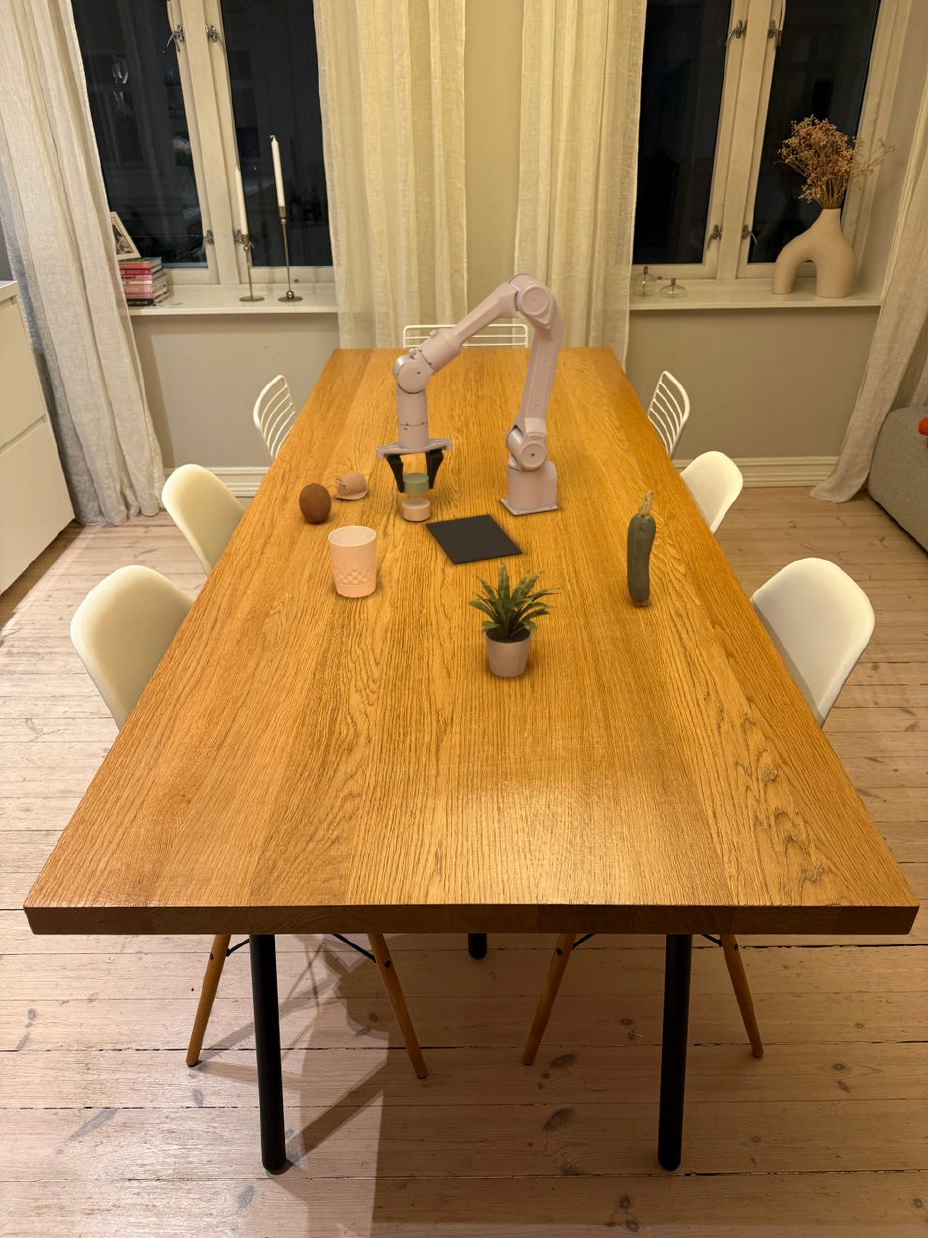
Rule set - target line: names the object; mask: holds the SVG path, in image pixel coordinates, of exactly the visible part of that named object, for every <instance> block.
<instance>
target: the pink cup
mask: <svg viewBox="0 0 928 1238" xmlns="http://www.w3.org/2000/svg"><path fill="white" fill-rule="evenodd" d="M327 539H328V540H327V541H328V546H329V547H328V548H329V555H330V562H331V568H332V573H333V577H334V584H335V590H336V592H337V594H339V595H340V596H342V597H345V598H350V599H355V598H357V599H358V598H363V597H366V596H369V595H371V594H373V593H374V592H375V590H376V588H377V576H376V575H377V532H376V531H375V530H374V529H372V528H370V527H368V526H362V525H348V526H342V527H339V528H335V529H334V530H332V531H330V532H329V533H328V536H327Z"/></svg>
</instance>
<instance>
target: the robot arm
mask: <svg viewBox="0 0 928 1238" xmlns="http://www.w3.org/2000/svg"><path fill="white" fill-rule="evenodd" d="M517 312H519V313H520V314H521V315H522V316H523V317H524V318H525V319H526V320H527V322H528V323H529V324H530V326H531V327H532V329H533V330H534V333H533V337H532V338H533V339H532V344H531V349H530V354H529V359H528V364H527V370H526V375H525V380H524V386H523V390H522V396H521V401H520V408H519V411H518V413H517V414H516V415H515V417H514V418H513V422H512V426H511V428H510V429H509V430H508V432H507V433H506V436H505V446H506V448H507V450H508V451H509V452H510V455H509V458H508V460H507V497H504V498H501V499H500V503H501V504H503V506H504V507H505V508H506V509H507V510H508V511H509V512H510V513H511V514H512V515H513V516H521V515H527V514H535V513H541V512H547V511H554V510H558V509H559V507H558V506H557V498H558V473H557V472H558V471H557V469H556V465H555V464H554V462H553V461H552V460H548V456H549V447H548V446H547V445H548V444H547V439H548V429H547V423H546V418H547V417H546V416H547V415H548V408H549V403H550V398H551V393H552V389H553V384H554V381H555V380H554V378H555V374H556V369H557V364H558V359H559V354H560V350H561V344H562V340H563V335H564V331H565V323H564V321H563V318H562V315H561V312H560V309H559V306H558V304H557V296H555V294H554V293H553V292H552V291H551V289H549V288H548V286H547V285H546V284H544V283H543V282H540V281H539V280H537V279H536V278H535V277H534V276H532V275H531V274H529V273H526V272H519V273H516V274H515V275H513V276H511V277H510V278H509V280H508V281H504V282H503V283H500V285H498V286H497V288H496V289H494V291H493V292H491V294H489V295H488V296H487V297H486V298H485V299H484V300H483V301H481V302H480V303H479V304H478V305H477V306H476V307H475V308H474V309H472V310H471V311H470V312H468V314H466V315H465V316H464V317H463V318H462V319H461V320H460V321H459V322H458V323H456V324H455V325H454V326H453V327H452V328H447V327H446V328H445V327H440V328H439V329H438V330H436V329H432V330H431V331H430V332H429V335H430V337H428V338H427V339H425V340H424V341H423V342H422V343H421V344H419V345H418V346H417V347H415V348H414V347H411V348H410V349H409V350H408V352H409V353H407V354H403V355H401V356H400V357H399V358H397V359H396V361H395V362H394V364H393V368H392V370H391V373H392V376H393V378H394V380H395V381H396V382H397V383H396V389H395V391H396V398H395V400H396V417H397V419H396V421H397V436H398V438H397V439H398V441H395V442H392V443H388V444H384V445H379V446H375V457H376V459H377V460H379V461H381V460H384V459H385V460H386V462H387V463H388V465H389V467H390V469H391V472H392V475H393V477H394V480H395V482H396V486H397V487H396V488H397V491H398V493H400V494H404V483H403V476H404V462H403V460H402V457H401V456H409V455H417V454H423V453H424V456H425V465H426V466H425V467H426V475H428V476H429V487H430V490H433V489H434V487H435V482H436V477H437V475H438V471H439V469H440V467H441V465H442V462H443V461H444V459H445V458H444V457H445V455H444V453H443V451H447V452H450V451H453V441H452V439H451V438H450V437H441V438H437V437H436V438H435V437H434V438H429V437H430V436H429V434H430V433H429V410H428V396H427V387H428V385H429V383H430V379H431V377H433V376H435V375H436V374H437V373H439V372H440V371H442V369H444V368H445V367H446V366H448V365H449V364H450V363H451V362H452V361H454V360H455V359H456V358H458V357H459V356H460V355H461V354H462V348H463V345H464V344H465V343H466V342H467V341H469V340H470V339H472V338H473V337H474V336H476V335H477V334H479V333H480V332H481V331H483V330H484V329H486V328H487V327H489V326H490V325H491V324H493V323H494V322H495V321H497V320H499V319H518V314H517Z"/></svg>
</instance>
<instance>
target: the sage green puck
mask: <svg viewBox="0 0 928 1238" xmlns="http://www.w3.org/2000/svg"><path fill="white" fill-rule="evenodd" d="M403 483H404V493H403V494H405V495H406V496H412V497H413V496H414V497H417V496H423V495H426V494H428V493H429V492H430V490H431V489H430V487H429V476H428V475H427V473H423V472H410V473H409V472H408V473H406V474H403Z"/></svg>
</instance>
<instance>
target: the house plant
mask: <svg viewBox="0 0 928 1238" xmlns="http://www.w3.org/2000/svg"><path fill="white" fill-rule="evenodd" d="M505 564H506V563H505V562H504V560H501V561H500V564H499V567H498V569H499V570H498V584H497V588H496V587H495V586H492V585H490V584H489V583H488V582H487V581H486V580H485V579H483V578H482V577H481V576H479V575H478V574H475V577H476V579H477V580H479V582H480V583H481V585H482V588H483V589H484V590H485V591H483V589H479V588H477V590H478V591H480V592H481V593H482V594H483V595H484V596H485V597H487V598H485V597H483V596H481V595H480V594H479V593H477V592H474V591H472V592H471V593H472V594H474V595H475V596H477V597H478V598H476V599H475V600H470V601H468V602H467V604H468V605H469V606H471V607H473V608H475V609H477V610H479V611H481V612H484V613H485V614H486V615H488V617H489V618H490V619H491V620H492V621H491V620H483V621H482V623H481V631H480V634H481V635H482V634H483V635H484V636H483V637H484V640H485V646H486V651H487V659H488V663H489V668H490V671H491V673H492V674H494V675H495V676H498V677H500V678H514V677H518V676H520V675H522V674H523V673H524V672H525V670H526V667H527V661H528V656H529V651H530V647H531V642H532V638H533V634H534V632H535V634H536V636H538V626H537V624H536V623H535V622H534V621H532V620H531V619H534V618H537V617H542V616H547V615H549V616H550V615H551V616H553V614H552V613H551V612H549V611H548V610H547V609H556V606H551V605H550V606H549V605H547V604H546V603H544V602H541V601H537V600H538V599H540V598H542V597H545V596H551V595H560V594H562V592H551V591H558V590H562V589H563V587H549V588H544V589H541V590H539V591H537V592H535V593H533V594H529V593H530V592H531V591H532V590H533V588H534V587H535V585H536V583H537V581H538V579H539V578H540V577H541V576H542V575H543V573H544V572H545V571H546V569H544V570H540V571H538V572H536V573H535V574H534V575H532V576H531V577H530V578H529V579H528V577H529V576H530V574H531V569H532V566H531V567H530V568H529V569H528V570H527V571H526V573H524V575H523V576H522V578H521V579H520V580H519V581H518V583H517V584H516V586H515V588H513V589H512V590H511V587H510V586H511V585H510V576H509V574H508V572H507V568H506V565H505ZM527 579H528V580H527ZM493 589H494V590H495V591H496V593H497V596H496V594H495V592H494V590H493ZM485 592H486V593H487V594H486V593H485ZM528 594H529V595H528ZM481 601H482V602H481ZM527 603H528V604H527ZM525 605H526V606H525ZM539 607H541V608H539ZM534 608H539V609H535V610H533V611H531V612H529V611H530V610H532V609H534ZM528 612H529V613H528ZM526 613H527V614H526ZM525 614H526V615H525Z"/></svg>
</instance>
